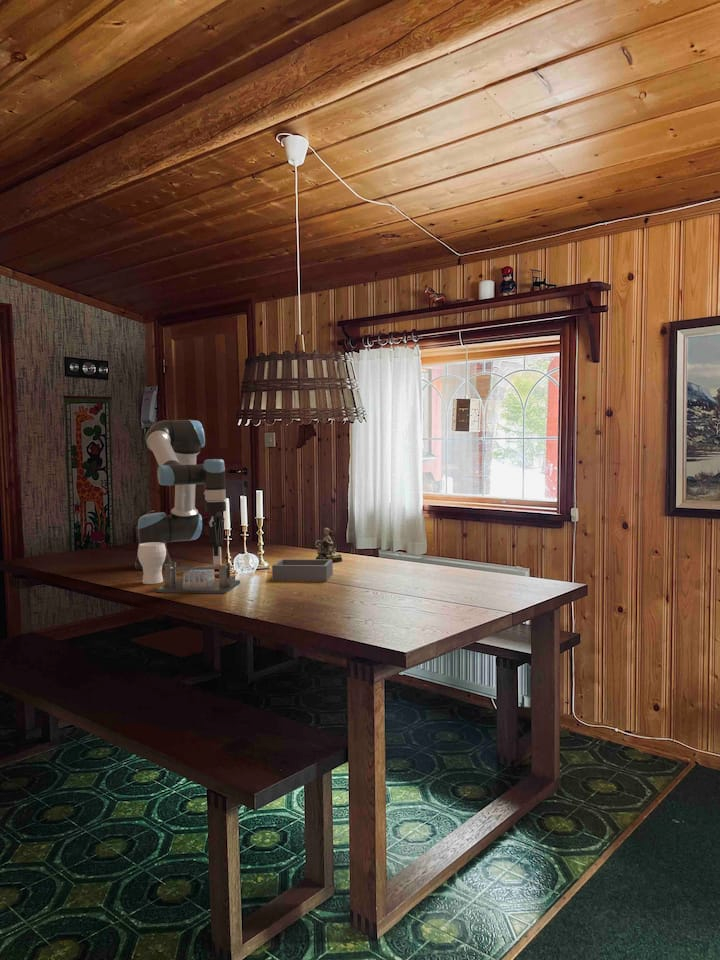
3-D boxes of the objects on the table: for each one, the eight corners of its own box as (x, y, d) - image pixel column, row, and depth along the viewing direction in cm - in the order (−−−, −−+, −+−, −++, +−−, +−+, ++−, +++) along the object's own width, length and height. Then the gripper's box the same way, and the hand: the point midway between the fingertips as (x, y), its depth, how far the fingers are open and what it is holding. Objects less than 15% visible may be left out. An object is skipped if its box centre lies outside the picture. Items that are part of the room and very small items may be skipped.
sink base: (156, 592, 265) (155, 567, 264) (175, 582, 283) (174, 559, 282) (225, 593, 261) (224, 568, 261) (240, 583, 279) (239, 559, 279)
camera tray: (281, 574, 298) (280, 559, 297) (332, 575, 295) (332, 559, 295) (272, 582, 284) (272, 565, 283) (326, 582, 281) (326, 566, 280)
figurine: (311, 562, 323) (310, 529, 322) (322, 558, 333) (321, 526, 332) (335, 564, 318) (335, 530, 317) (345, 560, 328) (345, 527, 327)
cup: (159, 585, 277) (157, 546, 277) (133, 584, 280) (132, 545, 279) (171, 579, 288) (170, 542, 287) (146, 579, 290) (145, 541, 289)
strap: (166, 572, 272) (166, 567, 272) (169, 570, 275) (169, 565, 275) (226, 570, 269) (225, 564, 269) (228, 568, 272) (228, 563, 272)
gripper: (211, 499, 276) (213, 561, 277) (199, 502, 263) (201, 567, 264) (230, 499, 275) (232, 561, 276) (219, 502, 262) (221, 567, 263)
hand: (217, 564), depth 270 cm, fingers closed
